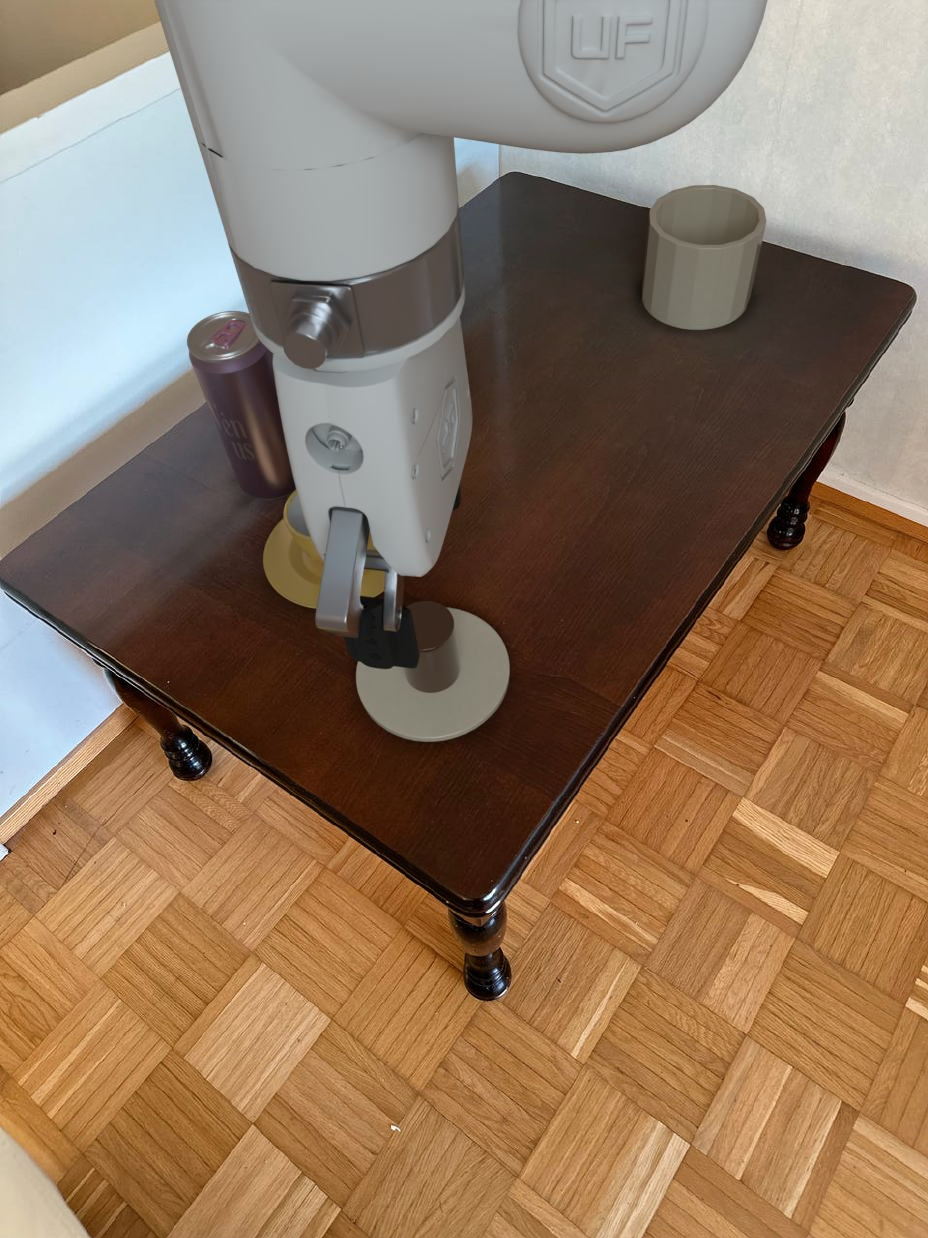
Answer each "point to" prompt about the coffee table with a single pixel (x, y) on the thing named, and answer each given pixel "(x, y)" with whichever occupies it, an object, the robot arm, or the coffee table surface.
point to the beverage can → (243, 401)
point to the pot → (701, 256)
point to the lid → (439, 678)
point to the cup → (304, 560)
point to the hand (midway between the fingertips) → (409, 577)
